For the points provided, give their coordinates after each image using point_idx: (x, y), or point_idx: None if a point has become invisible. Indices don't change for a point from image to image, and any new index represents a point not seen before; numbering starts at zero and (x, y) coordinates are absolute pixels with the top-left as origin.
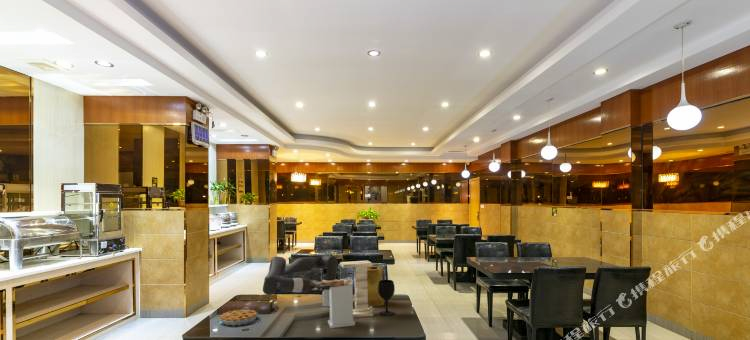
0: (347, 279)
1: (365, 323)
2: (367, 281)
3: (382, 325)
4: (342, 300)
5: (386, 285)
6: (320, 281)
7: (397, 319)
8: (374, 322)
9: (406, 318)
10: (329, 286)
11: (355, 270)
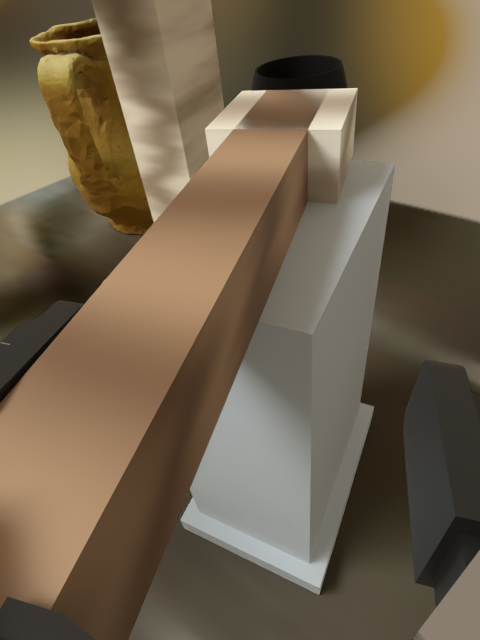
0: (290, 104)
1: (374, 358)
2: (100, 120)
3: (463, 318)
4: (349, 359)
5: (338, 88)
6: (3, 362)
7: (407, 243)
8: (387, 321)
9: (415, 220)
10: (463, 388)
11: (134, 19)
